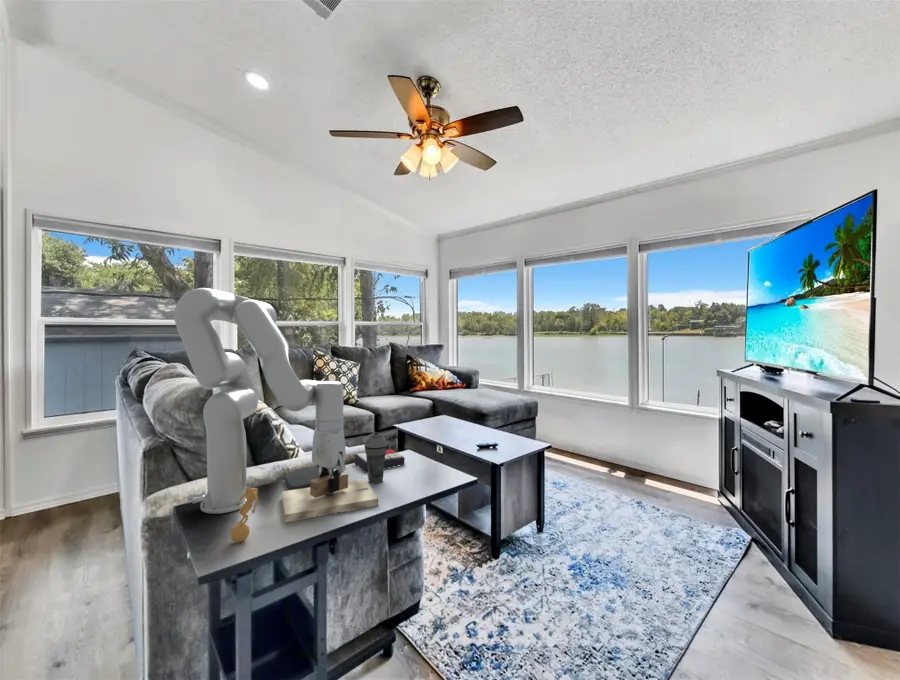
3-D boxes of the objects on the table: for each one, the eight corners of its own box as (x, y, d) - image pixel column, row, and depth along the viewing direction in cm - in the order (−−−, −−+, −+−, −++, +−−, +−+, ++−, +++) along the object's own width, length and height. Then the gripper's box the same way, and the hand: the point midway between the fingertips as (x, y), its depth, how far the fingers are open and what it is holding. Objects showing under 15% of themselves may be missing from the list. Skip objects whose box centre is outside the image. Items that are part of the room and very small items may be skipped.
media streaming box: (283, 479, 131) (283, 470, 131) (328, 472, 138) (328, 463, 138) (290, 495, 118) (290, 485, 118) (340, 486, 125) (340, 476, 125)
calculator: (405, 455, 145) (366, 460, 137) (404, 467, 145) (365, 473, 137) (392, 448, 154) (354, 452, 146) (391, 459, 154) (354, 464, 146)
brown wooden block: (315, 501, 108) (315, 482, 108) (310, 497, 111) (310, 479, 110) (347, 491, 115) (347, 473, 115) (342, 488, 118) (342, 471, 117)
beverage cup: (384, 485, 125) (385, 422, 125) (361, 485, 125) (362, 422, 125) (388, 477, 132) (389, 417, 132) (367, 476, 133) (367, 417, 132)
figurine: (223, 538, 93) (223, 487, 93) (250, 528, 97) (250, 480, 97) (237, 551, 87) (237, 497, 87) (265, 540, 92) (265, 489, 92)
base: (285, 522, 101) (285, 514, 101) (281, 496, 117) (281, 488, 117) (378, 505, 111) (378, 497, 111) (363, 483, 127) (363, 476, 127)
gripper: (301, 422, 115) (301, 486, 115) (336, 432, 105) (335, 501, 105) (323, 418, 121) (323, 478, 121) (358, 427, 110) (358, 492, 111)
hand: (329, 488), depth 113 cm, fingers closed on brown wooden block, 3 cm apart
